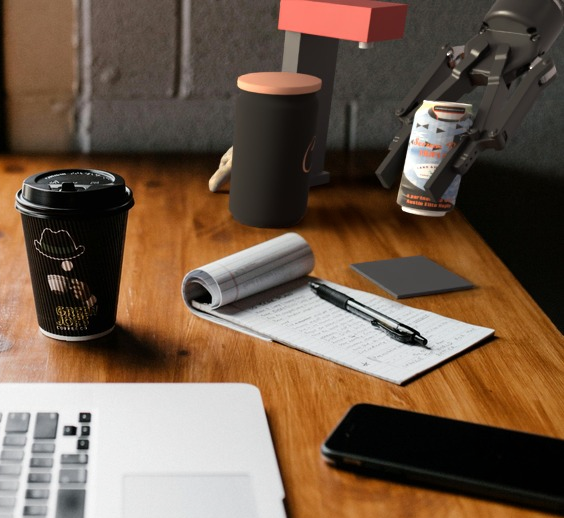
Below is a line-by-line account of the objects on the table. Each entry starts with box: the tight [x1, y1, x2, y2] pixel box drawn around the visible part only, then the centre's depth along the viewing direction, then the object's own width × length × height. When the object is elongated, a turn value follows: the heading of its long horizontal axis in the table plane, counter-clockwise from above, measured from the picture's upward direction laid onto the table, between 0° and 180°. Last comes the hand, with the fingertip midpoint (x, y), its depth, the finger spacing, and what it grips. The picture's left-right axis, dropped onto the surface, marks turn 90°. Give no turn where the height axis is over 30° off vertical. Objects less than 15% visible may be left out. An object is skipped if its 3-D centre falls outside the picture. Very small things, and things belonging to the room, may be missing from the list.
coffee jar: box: [228, 71, 322, 229], centre depth 114 cm, size 11×11×18 cm
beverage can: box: [396, 100, 476, 217], centre depth 93 cm, size 6×7×12 cm
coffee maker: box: [277, 0, 409, 188], centre depth 122 cm, size 10×18×26 cm, turn 35°
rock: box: [208, 145, 233, 193], centre depth 134 cm, size 20×5×7 cm, turn 167°
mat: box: [348, 254, 475, 300], centre depth 100 cm, size 10×10×1 cm
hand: (405, 187), depth 93 cm, fingers closed on beverage can, 6 cm apart
